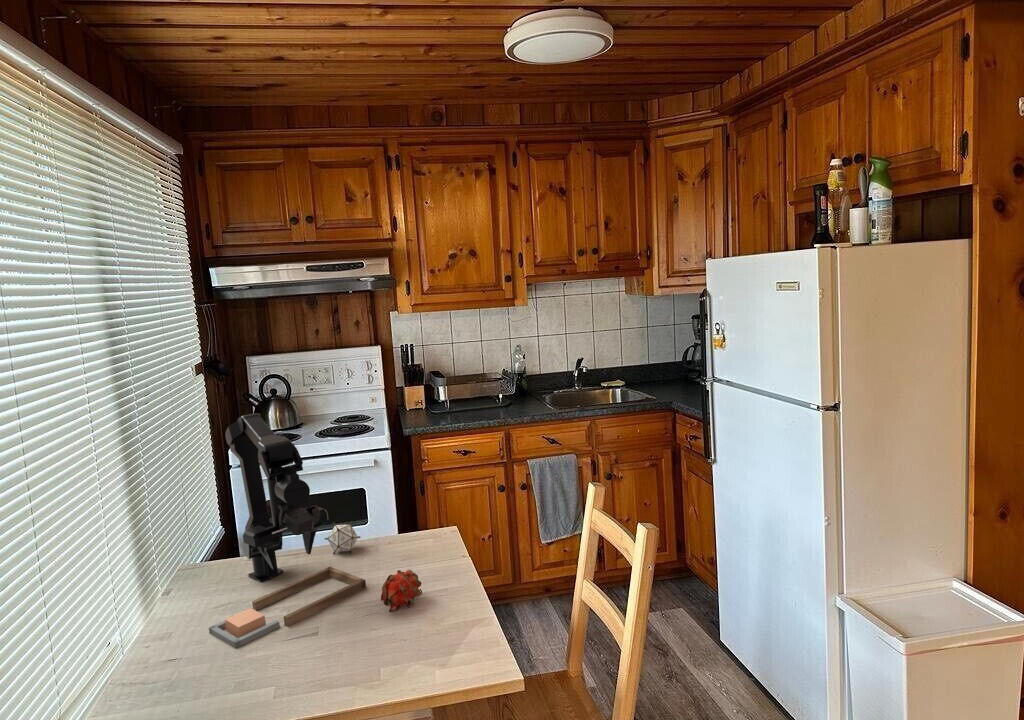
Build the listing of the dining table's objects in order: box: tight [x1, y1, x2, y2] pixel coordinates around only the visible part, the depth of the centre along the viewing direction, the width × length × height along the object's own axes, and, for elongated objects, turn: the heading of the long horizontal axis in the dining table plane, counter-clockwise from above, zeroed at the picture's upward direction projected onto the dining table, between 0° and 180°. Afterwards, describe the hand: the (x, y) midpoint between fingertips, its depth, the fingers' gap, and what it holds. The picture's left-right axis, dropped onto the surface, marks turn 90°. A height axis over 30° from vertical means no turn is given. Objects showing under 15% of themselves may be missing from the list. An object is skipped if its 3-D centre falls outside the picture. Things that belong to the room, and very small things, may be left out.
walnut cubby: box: [251, 566, 367, 627], centre depth 168 cm, size 14×21×2 cm
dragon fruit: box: [380, 569, 423, 613], centre depth 160 cm, size 8×8×12 cm
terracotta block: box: [224, 607, 267, 638], centre depth 156 cm, size 6×6×3 cm
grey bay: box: [208, 607, 281, 649], centre depth 155 cm, size 11×10×1 cm
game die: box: [324, 521, 362, 555], centre depth 194 cm, size 9×8×10 cm
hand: (291, 561), depth 163 cm, fingers open, 9 cm apart
